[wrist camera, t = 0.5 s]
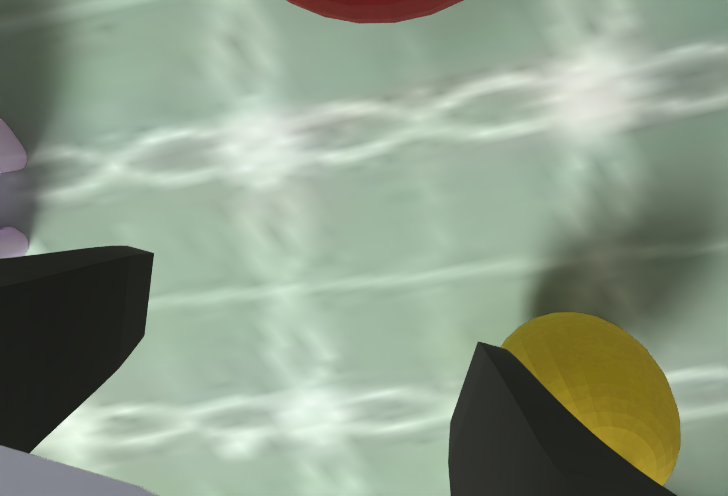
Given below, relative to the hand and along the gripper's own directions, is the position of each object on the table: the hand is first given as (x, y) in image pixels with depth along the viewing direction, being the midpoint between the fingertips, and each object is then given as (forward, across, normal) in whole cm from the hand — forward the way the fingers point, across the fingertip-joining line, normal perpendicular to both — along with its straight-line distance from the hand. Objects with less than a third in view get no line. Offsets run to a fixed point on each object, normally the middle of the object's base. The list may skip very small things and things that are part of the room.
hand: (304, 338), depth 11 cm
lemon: (+10, -8, +3) cm, 13 cm away
